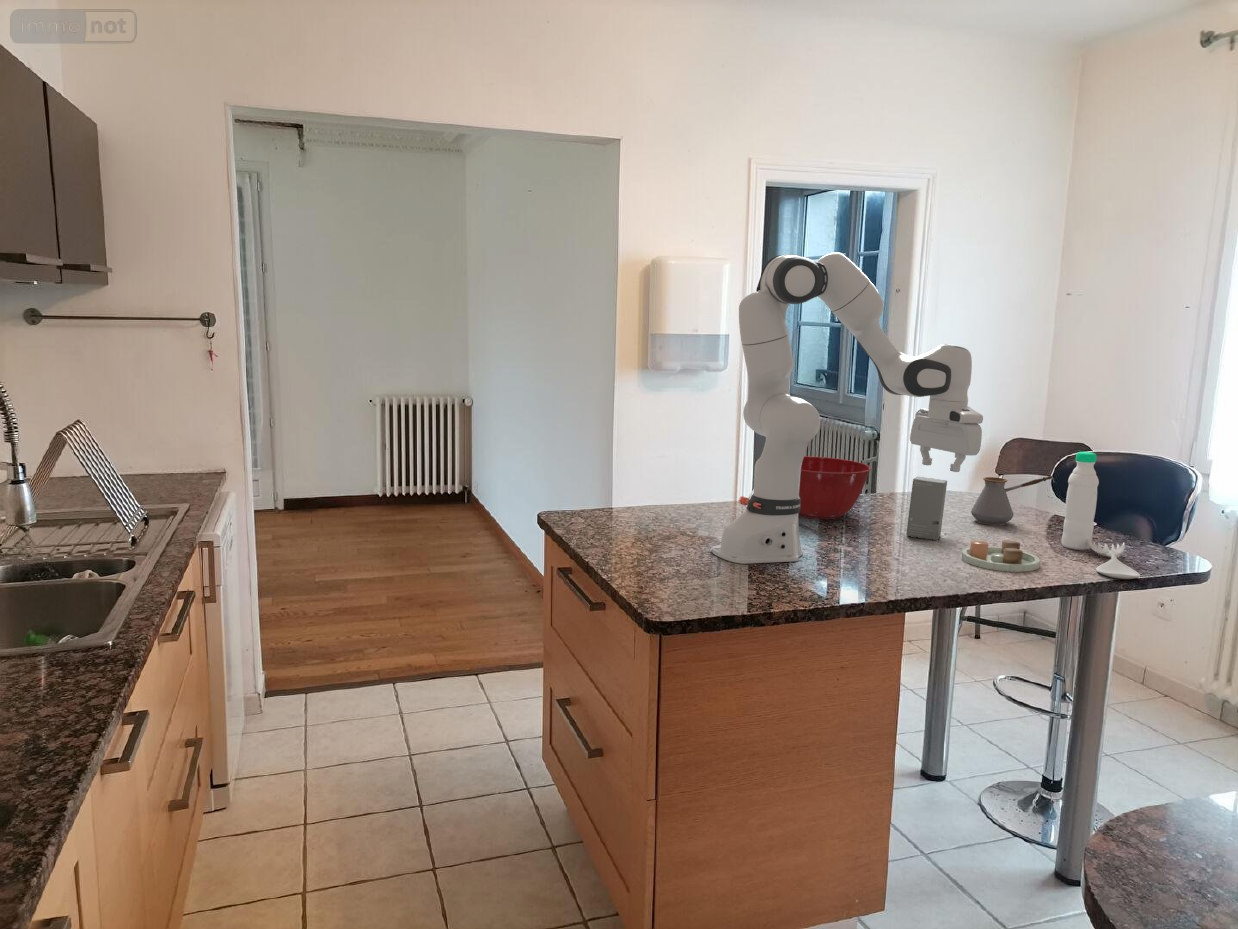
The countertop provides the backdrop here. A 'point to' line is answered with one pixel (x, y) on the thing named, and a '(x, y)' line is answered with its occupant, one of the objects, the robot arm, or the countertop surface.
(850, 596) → the countertop surface
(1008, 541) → the seated bead
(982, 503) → the coffee pot
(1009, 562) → the seated bead
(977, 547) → the loose bead
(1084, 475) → the milk bottle
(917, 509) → the skincare box
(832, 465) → the mixing bowl
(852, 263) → the robot arm
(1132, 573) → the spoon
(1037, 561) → the groove tray
